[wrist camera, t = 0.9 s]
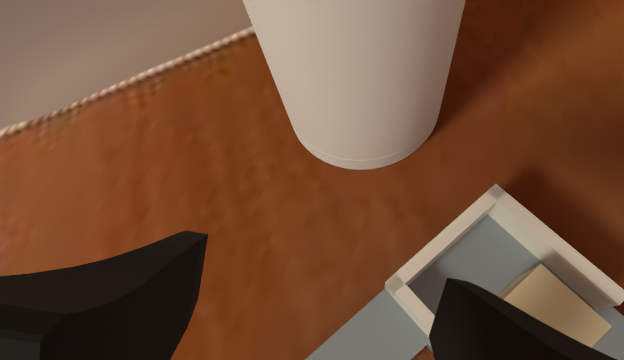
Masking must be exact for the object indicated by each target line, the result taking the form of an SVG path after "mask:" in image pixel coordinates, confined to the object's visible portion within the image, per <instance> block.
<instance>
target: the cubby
mask: <svg viewBox="0 0 624 360" xmlns="http://www.w3.org/2000/svg"><path fill="white" fill-rule="evenodd" d="M487 214H488V215H489V216H490V217H491V218H492V219H494V220H495V221H496V222H497V223H498V224H499V225H500V226H501V227H503V228H504V229H505V230H506V231H507V232H508V233H509V234H511V235H512V236H513V237H514V238H515V239H516V240H517V241H519V242H520V243H521V244H522V245H523V246H524V247H525V248H526V249H528V250H529V251H530V252H531V253H532V254H533V255H534V256H536V257H537V258H538V259H539V260H540V261H541V262H542V263H544V264H545V265H546V266H547V267H548V268H549V269H550V270H552V271H553V272H554V273H555V274H556V275H557V276H558V277H559V278H561V279H562V280H563V281H564V282H565V283H566V284H567V285H569V286H570V287H571V288H572V289H573V290H574V291H575V292H577V293H578V294H579V295H580V296H581V297H582V298H583V299H584V300H586V301H587V302H588V303H589V304H590V305H591V306H592V307H594V308H595V309H596V310H598V309H603V308H607V307H612V306H617V305H620V304H621V303H622V302H623V301H624V290H623V289H622V288H621V287H620V286H618V285H617V284H616V283H615V282H614V281H612V280H611V279H610V278H609V277H608V276H606V275H605V274H604V273H603V272H602V271H600V270H599V269H598V268H597V267H596V266H594V265H593V264H592V263H591V262H590V261H588V260H587V259H586V258H585V257H584V256H582V255H581V254H580V253H579V252H578V251H576V250H575V249H574V248H573V247H572V246H570V245H569V244H568V243H567V242H566V241H564V240H563V239H562V238H561V237H559V236H558V235H557V234H556V233H555V232H553V231H552V230H551V229H550V228H549V227H547V226H546V225H545V224H544V223H543V222H541V221H540V220H539V219H538V218H537V217H535V216H534V215H533V214H532V213H531V212H529V211H528V210H527V209H526V208H525V207H523V206H522V205H521V204H520V203H519V202H517V201H516V200H515V199H514V198H513V197H511V196H510V195H509V194H508V193H507V192H505V191H504V190H503V189H502V188H501V187H499V186H498V185H497V184H495V185H494V186H492V187H491V188H490V189H489V190H488V191H487V192H486V193H485V194H483V195H482V196H481V197H480V198H479V199H478V200H477V201H476V202H474V203H473V204H472V205H471V206H470V207H469V208H468V209H467V210H465V211H464V212H463V213H462V214H461V215H460V216H459V217H458V218H456V219H455V220H454V221H453V222H452V223H451V224H450V225H449V226H447V227H446V228H445V229H444V230H443V231H442V232H441V233H440V234H439V235H437V236H436V237H435V238H434V239H433V240H432V241H431V242H430V243H428V244H427V245H426V246H425V247H424V248H423V249H422V250H421V251H419V252H418V253H417V254H416V255H415V256H414V257H413V258H412V259H410V260H409V261H408V262H407V263H406V264H405V265H404V266H403V267H401V268H400V269H399V270H398V271H397V272H396V273H395V274H394V275H392V276H391V277H390V278H389V279H388V280H387V281H386V282H385V289H386V290H387V291H388V292H389V294H390V295H391V296H392V297H393V298H394V299H395V300H396V301H397V303H398V304H399V305H400V306H401V307H402V308H403V309H404V310H405V312H406V313H407V314H408V315H409V316H410V317H411V318H412V319H413V321H414V322H415V323H416V324H417V325H418V326H419V327H420V328H421V330H422V331H423V332H424V333H425V334H426V335H427V336H428V337H429V334H430V330H431V327H432V324H433V321H434V318H435V316H434V314H433V313H432V312H431V311H430V310H429V309H428V308H427V307H426V306H425V305H424V304H423V303H422V301H421V300H420V299H419V298H418V297H417V296H416V295H415V294H414V293H413V292H412V291H411V289H410V288H409V287H408V285H409V284H410V283H411V282H412V281H413V280H415V279H416V278H417V277H418V276H419V275H420V274H421V273H422V272H423V271H425V270H426V269H427V268H428V267H429V266H430V265H431V264H432V263H433V262H435V261H436V260H437V259H438V258H439V257H440V256H441V255H442V254H443V253H445V252H446V251H447V250H448V249H449V248H450V247H451V246H452V245H453V244H455V243H456V242H457V241H458V240H459V239H460V238H461V237H462V236H463V235H464V234H466V233H467V232H468V231H469V230H470V229H471V228H472V227H473V226H474V225H476V224H477V223H478V222H479V221H480V220H481V219H482V218H483V217H484V216H486V215H487Z"/></svg>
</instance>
